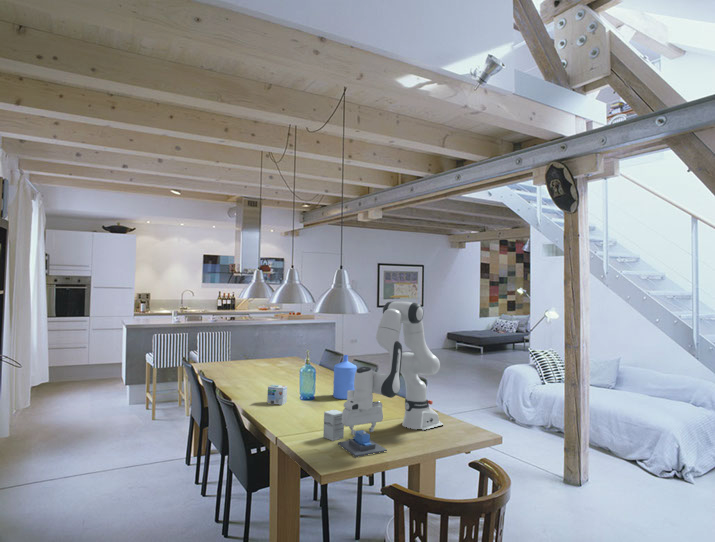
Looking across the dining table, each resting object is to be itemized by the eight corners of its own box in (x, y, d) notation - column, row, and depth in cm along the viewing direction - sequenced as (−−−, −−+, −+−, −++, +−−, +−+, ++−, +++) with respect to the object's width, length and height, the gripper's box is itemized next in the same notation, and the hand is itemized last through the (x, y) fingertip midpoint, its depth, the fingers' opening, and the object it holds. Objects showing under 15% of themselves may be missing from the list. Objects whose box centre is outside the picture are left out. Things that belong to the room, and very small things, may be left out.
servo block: (359, 441, 213) (360, 426, 213) (372, 449, 202) (372, 433, 202) (352, 442, 211) (352, 427, 211) (364, 450, 200) (365, 435, 201)
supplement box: (322, 437, 220) (323, 411, 220) (334, 434, 225) (334, 409, 225) (332, 441, 214) (333, 414, 215) (344, 438, 219) (344, 412, 220)
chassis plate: (367, 439, 218) (367, 433, 218) (387, 452, 202) (387, 445, 202) (337, 444, 211) (337, 438, 211) (355, 457, 195) (355, 450, 195)
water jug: (355, 400, 295) (357, 357, 296) (332, 399, 295) (333, 356, 296) (356, 394, 310) (357, 353, 311) (333, 393, 311) (335, 353, 312)
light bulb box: (266, 404, 280) (267, 386, 280) (271, 401, 286) (271, 384, 286) (282, 405, 277) (283, 387, 277) (287, 402, 284) (287, 385, 284)
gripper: (378, 399, 215) (378, 428, 215) (340, 403, 205) (339, 434, 205) (385, 402, 210) (385, 432, 209) (346, 407, 200) (346, 438, 199)
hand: (362, 433), depth 207 cm, fingers open, 8 cm apart
